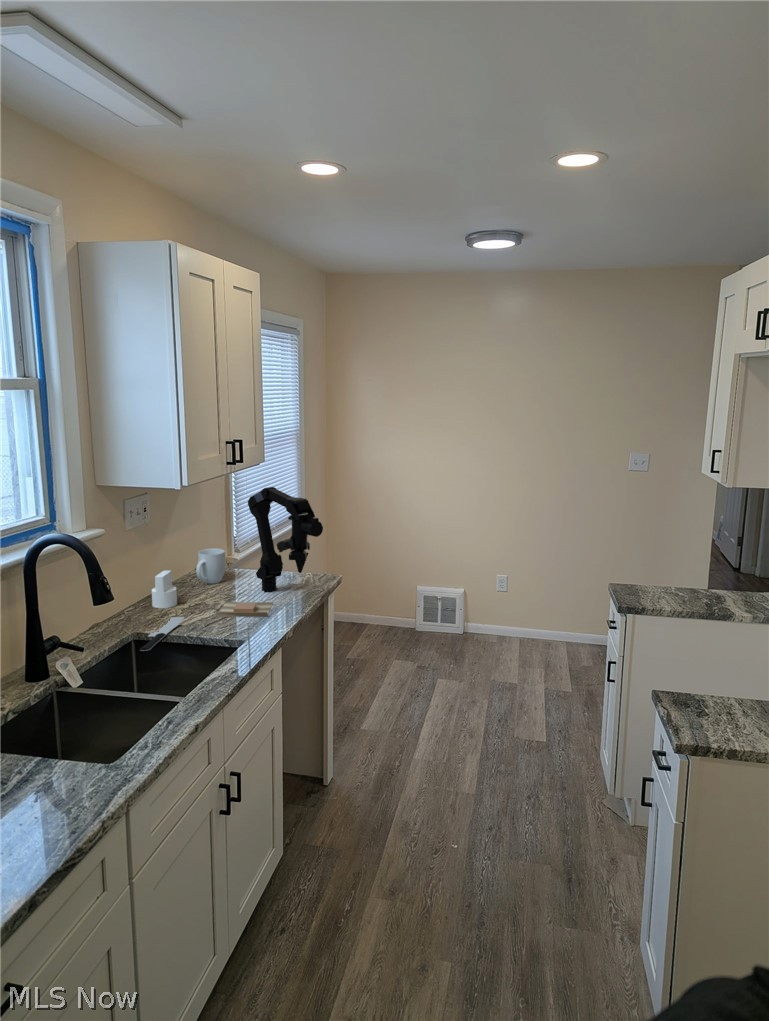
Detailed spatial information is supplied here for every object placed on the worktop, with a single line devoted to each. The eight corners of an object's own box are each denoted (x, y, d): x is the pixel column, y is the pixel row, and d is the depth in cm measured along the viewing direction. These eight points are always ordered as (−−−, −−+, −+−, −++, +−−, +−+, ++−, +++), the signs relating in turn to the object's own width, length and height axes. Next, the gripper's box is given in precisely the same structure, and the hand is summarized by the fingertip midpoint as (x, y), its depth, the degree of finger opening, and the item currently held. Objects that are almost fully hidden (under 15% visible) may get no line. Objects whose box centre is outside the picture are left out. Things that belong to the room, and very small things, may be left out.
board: (225, 604, 258) (225, 598, 258) (273, 604, 259) (273, 598, 258) (216, 619, 243) (216, 612, 242) (267, 619, 243) (266, 612, 242)
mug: (209, 589, 278) (208, 558, 275) (187, 585, 282) (186, 555, 279) (231, 579, 291) (230, 550, 289) (210, 576, 295) (209, 547, 293)
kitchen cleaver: (165, 615, 244) (192, 614, 243) (166, 620, 244) (192, 618, 243) (122, 649, 214) (152, 647, 212) (122, 654, 214) (152, 652, 212)
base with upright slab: (172, 608, 254) (170, 577, 251) (148, 607, 254) (146, 576, 252) (180, 600, 262) (179, 570, 260) (157, 600, 263) (156, 570, 261)
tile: (237, 602, 253) (233, 608, 246) (256, 602, 253) (253, 608, 246) (237, 606, 253) (233, 613, 246) (256, 606, 253) (253, 613, 246)
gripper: (281, 527, 265) (281, 566, 268) (274, 537, 247) (275, 579, 250) (309, 527, 265) (310, 566, 268) (305, 538, 247) (305, 579, 250)
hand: (300, 572), depth 259 cm, fingers closed
